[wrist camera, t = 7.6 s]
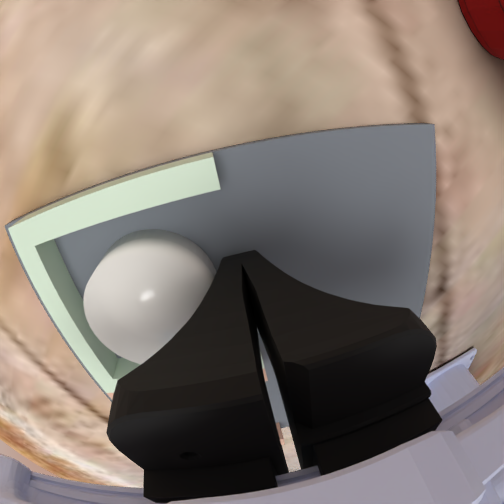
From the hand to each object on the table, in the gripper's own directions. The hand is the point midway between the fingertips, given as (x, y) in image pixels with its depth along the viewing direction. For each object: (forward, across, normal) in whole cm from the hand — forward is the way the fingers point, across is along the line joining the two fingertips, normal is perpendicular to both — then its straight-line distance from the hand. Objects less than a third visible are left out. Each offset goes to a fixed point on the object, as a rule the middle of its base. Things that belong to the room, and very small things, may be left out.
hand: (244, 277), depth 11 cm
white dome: (+1, +4, 0) cm, 4 cm away
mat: (+1, 0, +4) cm, 5 cm away
